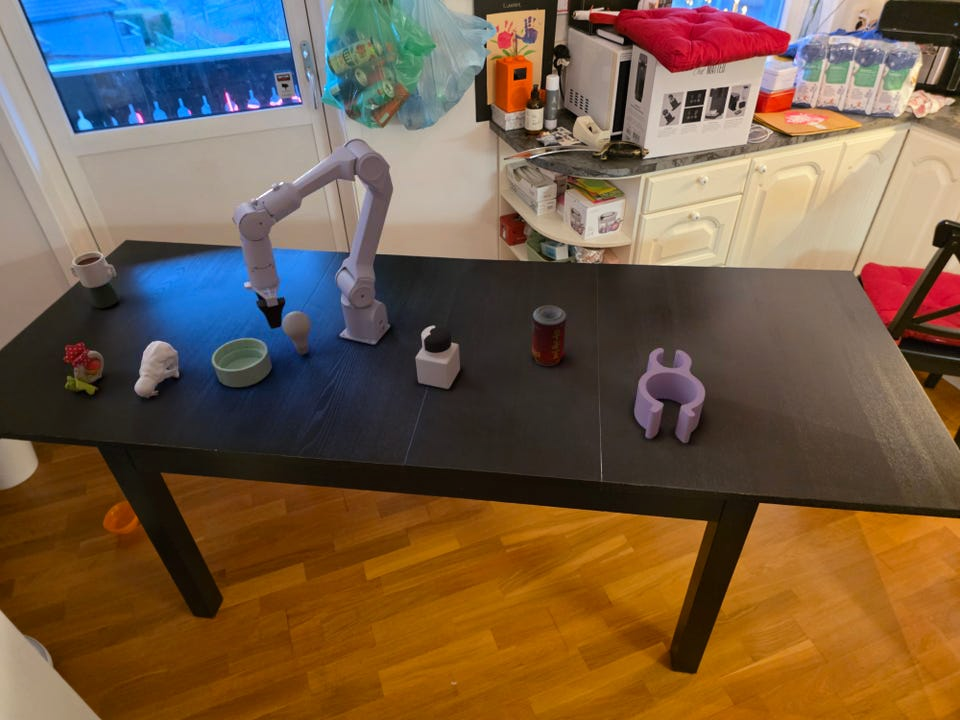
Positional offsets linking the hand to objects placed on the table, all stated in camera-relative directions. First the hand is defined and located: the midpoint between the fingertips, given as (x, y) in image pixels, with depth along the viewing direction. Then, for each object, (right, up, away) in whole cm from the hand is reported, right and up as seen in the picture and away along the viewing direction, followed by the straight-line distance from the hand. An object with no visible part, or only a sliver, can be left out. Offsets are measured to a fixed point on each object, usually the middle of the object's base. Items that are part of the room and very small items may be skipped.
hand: (272, 318), depth 142 cm
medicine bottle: (+36, -13, 0) cm, 38 cm away
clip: (+82, -18, -9) cm, 85 cm away
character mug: (-50, +5, +26) cm, 57 cm away
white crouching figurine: (-24, -15, 0) cm, 28 cm away
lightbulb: (+5, -8, +8) cm, 12 cm away
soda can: (+60, -9, +4) cm, 61 cm away
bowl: (-7, -12, +3) cm, 14 cm away
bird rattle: (-39, -15, +1) cm, 42 cm away
